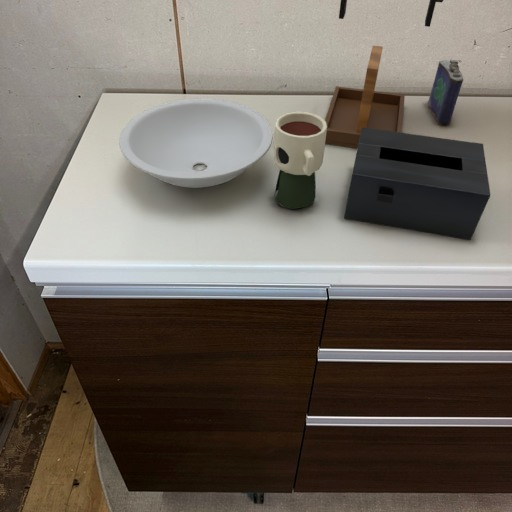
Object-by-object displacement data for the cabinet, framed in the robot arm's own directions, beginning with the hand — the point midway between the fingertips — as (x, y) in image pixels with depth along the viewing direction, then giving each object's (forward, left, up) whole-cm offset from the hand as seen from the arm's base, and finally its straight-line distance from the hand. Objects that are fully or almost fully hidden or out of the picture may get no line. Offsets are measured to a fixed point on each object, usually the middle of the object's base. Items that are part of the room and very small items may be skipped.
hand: (384, 20), depth 76 cm
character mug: (+8, +26, -19) cm, 33 cm away
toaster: (-9, +22, -19) cm, 30 cm away
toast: (0, 0, -18) cm, 18 cm away
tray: (0, 0, -19) cm, 19 cm away
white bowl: (+25, +22, -19) cm, 38 cm away
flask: (-14, -8, -19) cm, 25 cm away
